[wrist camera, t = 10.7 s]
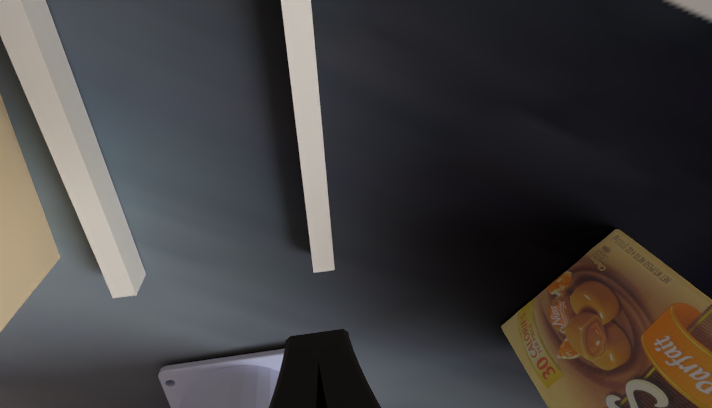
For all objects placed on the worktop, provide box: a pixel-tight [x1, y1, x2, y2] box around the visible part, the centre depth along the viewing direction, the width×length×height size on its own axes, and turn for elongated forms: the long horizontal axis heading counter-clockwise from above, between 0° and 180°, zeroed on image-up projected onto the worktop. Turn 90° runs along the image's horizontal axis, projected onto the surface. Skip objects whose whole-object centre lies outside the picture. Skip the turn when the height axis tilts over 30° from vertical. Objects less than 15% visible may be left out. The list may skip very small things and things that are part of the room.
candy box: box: [501, 229, 712, 408], centre depth 18 cm, size 9×4×15 cm, turn 140°
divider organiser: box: [0, 0, 335, 298], centre depth 15 cm, size 14×19×4 cm
